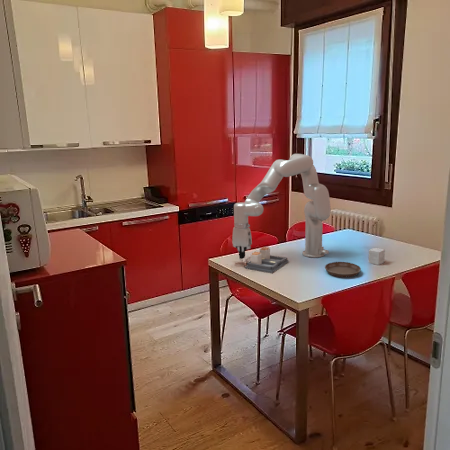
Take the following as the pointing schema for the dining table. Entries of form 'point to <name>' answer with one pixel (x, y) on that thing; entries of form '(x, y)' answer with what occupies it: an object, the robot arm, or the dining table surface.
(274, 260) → the grey compartment tray
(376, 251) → the product box
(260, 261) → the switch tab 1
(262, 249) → the white orange-topped block
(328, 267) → the plant saucer
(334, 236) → the dining table surface
